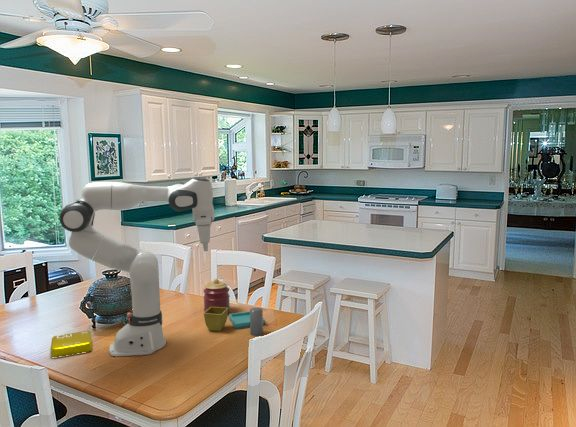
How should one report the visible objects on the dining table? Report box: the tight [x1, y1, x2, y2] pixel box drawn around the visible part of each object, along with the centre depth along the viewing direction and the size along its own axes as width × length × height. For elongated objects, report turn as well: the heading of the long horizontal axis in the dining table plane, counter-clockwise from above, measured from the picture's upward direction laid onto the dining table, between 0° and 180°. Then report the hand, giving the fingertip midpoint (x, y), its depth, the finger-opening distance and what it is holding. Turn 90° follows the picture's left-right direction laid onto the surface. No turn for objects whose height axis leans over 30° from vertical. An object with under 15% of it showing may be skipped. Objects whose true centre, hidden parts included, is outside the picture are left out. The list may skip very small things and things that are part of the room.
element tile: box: [50, 330, 93, 358], centre depth 186 cm, size 15×15×5 cm
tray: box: [228, 310, 266, 330], centre depth 214 cm, size 14×14×2 cm
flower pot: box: [203, 307, 229, 332], centre depth 205 cm, size 9×9×9 cm
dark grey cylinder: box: [249, 307, 264, 337], centre depth 200 cm, size 6×6×11 cm
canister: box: [203, 278, 231, 314], centre depth 226 cm, size 13×13×18 cm
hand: (205, 247), depth 192 cm, fingers open, 8 cm apart
